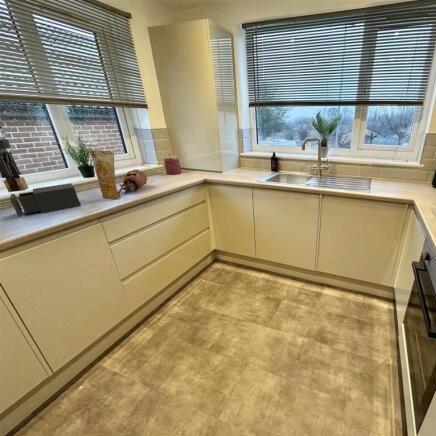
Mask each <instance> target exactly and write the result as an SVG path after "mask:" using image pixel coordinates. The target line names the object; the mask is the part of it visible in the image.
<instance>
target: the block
mask: <svg viewBox="0 0 436 436" xmlns="http://www.w3.org/2000/svg"><path fill="white" fill-rule="evenodd" d="M15 180H16V182H17V184H18V186H19V188H20V191H19V192H23V191H26V190H28V189H29V186H28V184H27V182H26V179H25V177H23V176H22V177H21V176H20V178H15ZM2 182H3V184H4V185H5V188H6V190H7V192H8V193H14V192H17V191H14V192H12V191H11V189H10V187H9V184H8V182H7V180H6V179H4V180H2Z"/></svg>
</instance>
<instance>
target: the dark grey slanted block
mask: <svg viewBox="0 0 436 436" xmlns="http://www.w3.org/2000/svg"><path fill="white" fill-rule="evenodd" d="M32 192H33V195H34V197H35V199H36V201H37V204H38V206H39V208H40V210H41V211H40V212H41V214H47V213H53V212H57V211H63V210H67V209H72V208H77V207H81V206H82V204H81V202H80V200H79V197H78V194H77V192H76V189H75V187H74V185H73V184H72V183H71V182H70V183H65V184H57V185H50V186H43V187H36V188H32Z"/></svg>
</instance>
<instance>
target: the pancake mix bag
mask: <svg viewBox="0 0 436 436" xmlns="http://www.w3.org/2000/svg"><path fill="white" fill-rule="evenodd" d="M89 153H90V154H89V155H90V156H91V160H92V163H93V167H94V170H95V174H96V178H97V180H98V185H99V189H100V192H101V196H102V198H105V199H110V200H117V199H121V196H120V194H118V192H119V190H118V188H117V182H116V173H115V172H116V169H115V154H114V152H113V151H111V150H101V149H99V150H98V149H91V150H90V151H89Z"/></svg>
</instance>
